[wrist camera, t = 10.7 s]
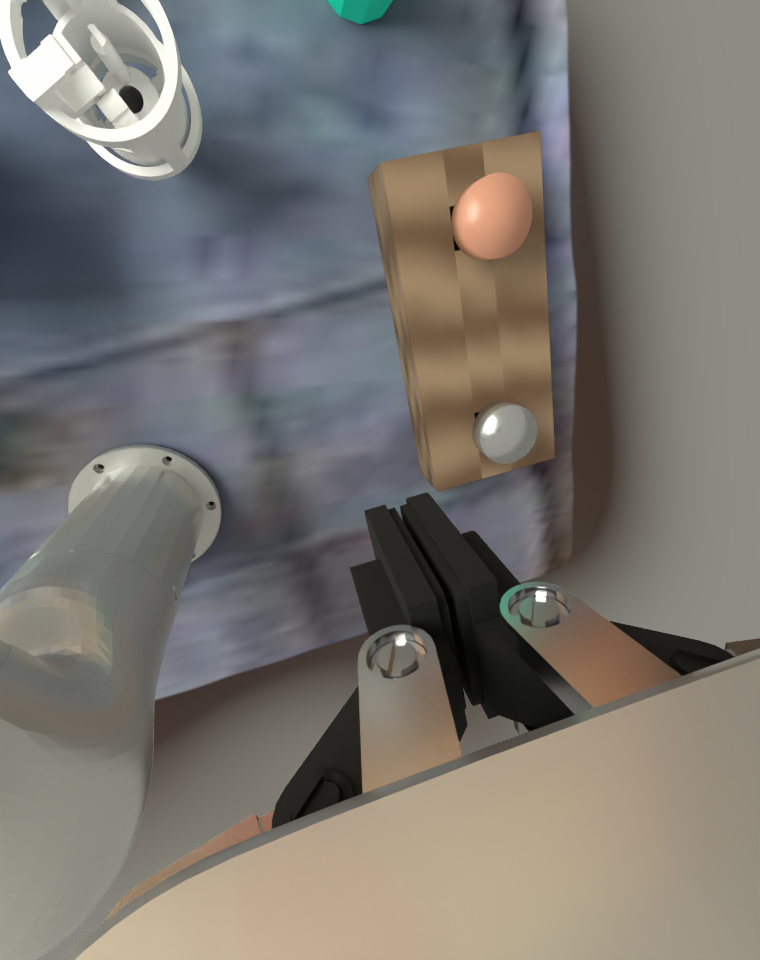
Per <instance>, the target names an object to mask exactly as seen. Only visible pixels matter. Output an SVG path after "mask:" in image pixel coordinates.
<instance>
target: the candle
mask: <svg viewBox="0 0 760 960" xmlns="http://www.w3.org/2000/svg"><path fill="white" fill-rule="evenodd" d="M392 1H393V0H327V2H328V3H329V4H330V5H331V6H332V8H333V9H334V10H335V11H336V13H337V14H338V15H339V16H340V17H342V18H345V19H348V20H350V21H353V22H356V23H359V24H364V23H367V22H370V21H373V20H376V19H378V18H381V17H382V16H383V14H384V13H385V12H386V10H387V9H388V7H389V6H390V4H391V3H392Z"/></svg>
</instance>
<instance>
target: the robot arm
mask: <svg viewBox="0 0 760 960" xmlns="http://www.w3.org/2000/svg"><path fill="white" fill-rule="evenodd" d="M167 456H169V457H171V458H172V460H168V459H167ZM99 464H101V465H103V466H104V468H103V467H100V465H99ZM210 501H211V502H214V504H211V503H210ZM406 502H407V504H405V505H402V506H400V509H401V514H402V519H403V521H402V519H401V518H400V516H399V514H398V512H397V511H396V509H395V508H392V509H387V507H386V505H382V506H379V507H375V508H372V509H368V510H365V517H366V521H367V525H368V529H369V533H370V537H371V541H372V545H373V549H374V553H375V557H376V560H374V561H370V562H367V563H364V564H361V565H357V566H354V567H351V568H350V569H351V573H352V577H353V580H354V584H355V587H356V591H357V594H358V598H359V602H360V605H361V609H362V612H363V616H364V619H365V623H366V626H367V630H368V633H369V636H370V637H369V638H368V639H367V640H366V641H365V642H364V644H363V646H362V647H361V649H360V651H359V656H358V682H359V683H358V684H359V686H358V687H357V688H356V690H355V691H354V693H353V694H352V695H351V697H350V698H349V700H348V701H347V703H346V704H345V705H344V706H343V708H342V709H341V711H340V712H339V714H338V715H337V716H336V718H335V719H334V721H333V722H332V723H331V725H330V726H329V727H328V729H327V730H326V732H325V733H324V735H323V736H322V737H321V739H320V740H319V741H318V743H317V744H316V746H315V747H314V749H313V750H312V751H311V753H310V754H309V755H308V757H307V758H306V760H305V761H304V763H303V764H302V765H301V767H300V768H299V769H298V771H297V772H296V774H295V775H294V776H293V778H292V779H291V780H290V782H289V783H288V785H287V786H286V787H285V789H284V791H283V792H282V794H281V796H280V798H279V800H278V802H277V803H276V806H275V809H274V810H272V811H271V812H269V813H267V814H266V815H264V816H263V817H261V818H258V817H257V815H256V813H254V814H252V815H251V816H249V817H247V818H246V819H244V820H243V821H241V822H239V823H238V824H236V825H234V826H233V827H231V828H230V829H228V830H226V831H225V832H223V833H221V834H220V835H218V836H217V837H215V838H213V839H212V840H210V841H208V842H207V843H205V844H204V845H202V846H200V847H199V848H197V849H196V850H194V851H192V852H190V853H189V854H187V855H186V856H184V857H182V858H181V859H179V860H177V861H176V862H174V863H173V864H171V865H169V866H168V867H166V868H164V869H163V870H161V871H160V872H158V873H156V874H155V875H153V876H151V877H150V878H148V879H147V880H145V881H143V882H142V883H140V884H138V885H137V886H136V887H135V888H134V889H132V890H131V891H130V892H129V893H127V894H126V895H125V896H124V897H123V898H121V900H120V901H119V902H118V903H117V905H116V906H115V907H114V909H113V910H112V911H111V912H110V913H109V915H108V916H107V917H106V919H105V921H104V923H102V924H101V925H100V926H98V927H97V928H96V929H95V930H93V931H92V932H91V933H89V934H88V935H87V936H86V937H84V938H83V939H82V940H81V941H79V942H78V943H77V944H76V945H75V946H74V947H73V948H72V949H71V950H70V951H69V952H68V953H66V954H65V955H64V956H63V957H62V958H61V959H60V960H760V638H758V639H751V640H743V641H735V642H728V643H726V644H725V650H723V649H721V648H719V647H717V646H715V645H712V644H709V643H705V642H702V641H699V640H694V639H689V638H685V637H680V636H676V635H671V634H667V633H662V632H657V631H653V630H648V629H643V628H639V627H634V626H630V625H625V624H621V623H616V622H611V621H608V620H607V619H605V618H604V617H603V616H601V615H600V614H599V613H597V612H596V611H595V610H593V609H592V608H591V607H589V606H588V605H587V604H585V603H584V602H583V601H581V600H580V599H579V598H577V597H576V596H574V595H573V594H572V593H571V592H569V591H567V590H566V589H564V588H562V587H560V586H557V585H554V584H551V583H546V582H528V583H523V584H520V583H519V582H518V580H517V579H516V578H515V577H514V576H513V575H512V573H511V572H510V571H509V570H508V569H507V568H506V567H505V565H504V564H503V563H502V562H501V561H500V560H499V558H498V557H497V556H496V555H495V554H494V553H493V551H492V550H491V549H490V548H489V547H488V546H487V544H486V543H485V542H484V541H483V540H482V539H481V538H480V536H479V535H478V534H477V533H476V532H475V531H469V532H466V533H462V534H460V533H459V531H458V530H457V529H456V527H455V526H454V525H453V524H452V522H451V521H450V520H449V519H448V517H447V516H446V515H445V514H444V512H443V511H442V510H441V509H440V507H439V506H438V505H437V503H436V502H435V501H434V500H433V498H432V497H431V496H430V495H429V494H428V493H424V494H420V495H417V496H413V497H410V498H407V500H406ZM68 512H69V515H68V516H67V517H66V518H65V519H64V521H63V522H62V523H61V524H60V525H59V526H58V527H57V528H56V529H55V530H54V532H53V533H52V534H51V535H50V536H49V537H48V538H47V539H46V540H45V541H44V542H43V544H42V545H41V546H40V547H39V548H38V549H37V550H36V551H35V552H34V553H33V555H32V556H31V557H30V558H29V559H28V560H27V561H26V562H25V563H24V564H23V566H22V567H21V568H20V569H19V570H18V571H17V572H16V573H15V574H14V575H13V576H12V577H11V578H10V580H9V581H8V582H7V583H6V584H5V585H4V586H3V587H2V588H1V590H0V960H37V959H39V958H40V957H42V956H43V955H45V954H46V953H47V952H49V951H50V950H51V949H53V948H54V947H56V946H57V945H59V944H60V943H62V942H63V941H64V940H65V939H66V938H67V937H68V936H69V935H70V934H71V933H72V932H74V931H75V929H77V928H78V927H79V926H80V925H81V924H82V923H83V922H84V921H85V919H86V918H87V917H88V916H89V915H90V913H91V912H92V911H93V910H94V909H95V907H96V906H97V905H98V903H99V902H100V901H101V900H102V898H103V897H104V895H105V894H106V892H107V891H108V889H109V888H110V886H111V884H112V883H113V881H114V880H115V878H116V877H117V875H118V873H119V871H120V869H121V867H122V866H123V864H124V862H125V860H126V858H127V855H128V853H129V851H130V849H131V846H132V844H133V842H134V839H135V837H136V834H137V831H138V829H139V826H140V822H141V819H142V816H143V813H144V809H145V805H146V800H147V796H148V790H149V785H150V780H151V772H152V763H153V746H154V702H155V694H156V686H157V681H158V676H159V671H160V667H161V663H162V659H163V655H164V652H165V648H166V645H167V641H168V638H169V634H170V631H171V628H172V624H173V621H174V617H175V614H176V611H177V607H178V604H179V601H180V597H181V594H182V591H183V587H184V584H185V580H186V577H187V574H188V570H189V567H190V564H191V563H192V562H194V561H195V560H196V559H198V558H199V557H200V556H201V555H203V554H204V553H205V552H206V550H207V549H208V548H209V547H210V546H211V545H212V543H213V541H214V539H215V538H216V536H217V533H218V530H219V527H220V523H221V517H222V507H221V500H220V496H219V492H218V490H217V488H216V486H215V484H214V482H213V480H212V479H211V478H210V477H209V475H208V474H207V473H206V471H205V470H204V469H203V468H201V467H200V466H199V465H198V464H197V463H196V462H195V461H193V460H191V459H190V458H188V457H187V456H185V455H183V454H181V453H179V452H176V451H174V450H172V449H169V448H165V447H161V446H156V445H145V444H136V445H127V446H122V447H118V448H115V449H111V450H109V451H107V452H105V453H103V454H101V455H99V456H98V457H96V458H95V459H94V460H93V461H91V462H90V463H89V464H88V465H87V466H86V467H85V468H84V469H83V470H82V471H81V472H80V473H79V474H78V476H77V478H76V479H75V481H74V482H73V484H72V487H71V490H70V494H69V500H68ZM463 688H464V690H465V692H466V694H467V696H468V698H469V700H470V702H471V704H472V705H473V706H475V705H478V704H481V705H482V707H483V709H484V711H485V713H486V715H487V717H488V719H490V718H493V717H496V716H498V715H500V716H503V717H505V718H509V719H511V720H513V721H514V727H515V729H516V730H517V732H518V734H519V736H517V737H514V738H511V739H508V740H505V741H503V742H500V743H497V744H495V745H492V746H489V747H487V748H484V749H481V750H478V751H476V752H473V753H470V754H468V755H465V756H462V752H461V748H460V744H459V742H460V740H461V738H462V736H463V734H464V732H465V729H466V727H467V721H466V715H465V709H466V703H465V699H464V692H463Z"/></svg>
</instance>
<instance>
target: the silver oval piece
mask: <svg viewBox="0 0 760 960" xmlns="http://www.w3.org/2000/svg"><path fill="white" fill-rule="evenodd" d="M474 415H475V421H474V423H473V427H472V439H473V442H474V444H475V446H476V448H477V449H478V450H479V451H480V452H482V453H483V454H484V455H486V456H487V457H488V458H489V459H491V460H492V461H494V462H496V463H500V464H509V463H513V462H516V461H518V460H520V459H521V458H523V457H524V456H525V455H526V454H527V453H528V452H529V451H530V450H531V448H532V447H533V445H534V443H535V440H536V437H537V422H536V419H535V417H534V416H533V414H532V413H531V412H530V411H529V410H528V409H526V408H524V407H522V406H520V405H517V404H515V403H513V402H511V401H506V400H501V401H496V402H493V403H491V404H489V405H487V406H486V407H484V408H483V409H482V410H481V411H480V412H476V413H474Z"/></svg>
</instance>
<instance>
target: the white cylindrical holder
mask: <svg viewBox="0 0 760 960" xmlns="http://www.w3.org/2000/svg"><path fill="white" fill-rule="evenodd" d="M42 1H43V3H44V4H45V5H46V6H47V8H48V9H49V10H50V11H51V13H52V14H53V15H54V17H55V18H56V19H57V20H58V23H57V25H56V27H55V29H54V31H53V34H52V35H51V34H49V35H48V36H47V37H46V38H45V39H44V40H43V41H41V42H40V43H41V45H40V46H39V47H38V48H37V49H36V50H34V51H33V52H32V53H31V54H30V55H29V56H28V57H27V55H26V51H25V47H24V41H23V18H22V16H21V6H22V4H23V3H24V2H27V0H0V39H1V43H2V46H3V49H4V52H5V54H6V57H7V59H8V61H9V63H10V66H11V68H12V69H10V70H9V71H8V73H9V74H10V76H11V78H12V79H13V80H14V81H15V83H16V84H17V85H18V86H19V87H20V88H21V90H22V91H23V92H24V93H25V94H26V95H27V97H28V98H30V99H31V100H32V101H33V102H34V103H35V104H37V105H38V106H39V107H40V108H42V109H43V110H44V111H45V112H46V113H47V114H48V115H49V116H51V117H52V118H53V119H54V120H56V121H57V122H58V123H59V124H61V125H62V126H63V127H65V128H66V129H67V130H69V131H70V132H72V133H73V134H75V135H77V136H78V137H80V138H82V139H84V140H86V141H87V142H88V143H89V145H90V146H91V147H92V148H93V149H94V150H95V151H96V152H97V153H98V154H99V155H100V156H101V157H102V158H104V159H105V160H106V161H107V162H109V163H110V164H111V165H112V166H114V167H115V168H117V169H118V170H120V171H122V172H124V173H126V174H128V175H130V176H133V177H136V178H139V179H144V180H163V179H167V178H170V177H173V176H175V175H177V174H179V173H180V172H182V171H183V170H184V169H185V168H186V167H187V166H188V165H189V164H190V163H191V162H192V160H193V159H194V157H195V155H196V153H197V151H198V148H199V145H200V142H201V136H202V115H201V109H200V105H199V101H198V98H197V95H196V92H195V90H194V87H193V85H192V82H191V80H190V78H189V76H188V74H187V73H186V71H185V69H184V68H183V66H182V65H181V61H180V55H179V51H178V47H177V43H176V40H175V37H174V35H173V32H172V29H171V27H170V24H169V21H168V19H167V17H166V14H165V12H164V10H163V8H162V6H161V4H160V2H159V1H158V0H141V1H142V2H143V4H144V5H145V6H146V7H147V9H148V10H149V12H150V13H151V15H152V16H153V18H154V19H155V21H156V23H157V25H158V27H159V29H160V32H161V35H162V39H163V43H164V45H163V44H162V43H161V42H159V41H158V40H157V39H156V37H155V35H154V34H153V33H152V31H151V30H150V29H149V27H148V26H147V25H146V24H145V23H144V22H143V21H142V20H141V19H140V18H139V17H138V16H137V15H136V14H134V13H133V12H132V11H130V10H129V9H127V8H126V7H124V6H123V5H121V4H119V3H118V2H117V0H42ZM124 62H135V63H140V64H143V65H145V66H147V67H149V68H151V69H153V70H154V71H155V72H156V74H157V75H156V76H154V77H153V78H152V79H151V80H150V79H149V78H148V77H147V76H146V75H145V74H144V73H143V72H141V71H140V70H138V69H136V68H134V67H131V66H127V65H125V64H124ZM108 69H109V71H108V72H107V73H106V74H105V76H104V78H103V80H102V83H101V82H100V79H101V77H102V76H103V74H104V73H105V72H106V71H107V70H108ZM182 84H183V86H184V88H185V90H186V92H187V95H188V99H189V103H190V109H191V127H190V133H189V136H188V132H189V114H188V109H187V105H186V102H185V99H184V96H183V94H182V92H181V87H182ZM97 105H98V107H99V108H100V109H101V110H102V112H103V113H104V114H105V116H106V117H107V118H106V119H105V120H104V121H102V120H101V119H100V117H99V114H98V110H97ZM187 137H188V139H187ZM186 140H187V142H186ZM185 143H186V144H185ZM184 145H185V146H184ZM104 146H105V147H110V148H112V149H113V150H114V151H115V152H116V153H117V154H119V155H120V156H122V157H123V158H125V159H127V160H128V161H131V162H133V163H136V164H139V165H143V166H155V167H141V166H135V165H132V164H129V163H126V162H124V161H122V160H120V159H118V158H117V157H115V156H114V155H112V154H111V153H109V152H108V151H107V150H106V149H105V147H104ZM126 148H130V149H126ZM158 165H160V166H158Z"/></svg>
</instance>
